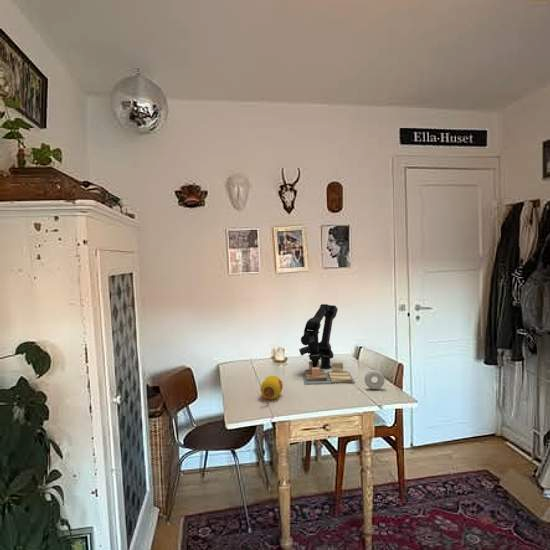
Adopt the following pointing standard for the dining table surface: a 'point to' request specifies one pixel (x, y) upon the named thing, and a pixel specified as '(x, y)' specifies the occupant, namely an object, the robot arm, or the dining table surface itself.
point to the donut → (374, 374)
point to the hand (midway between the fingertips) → (314, 368)
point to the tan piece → (339, 373)
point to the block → (315, 371)
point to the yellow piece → (271, 387)
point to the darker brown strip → (314, 378)
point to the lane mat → (323, 380)
